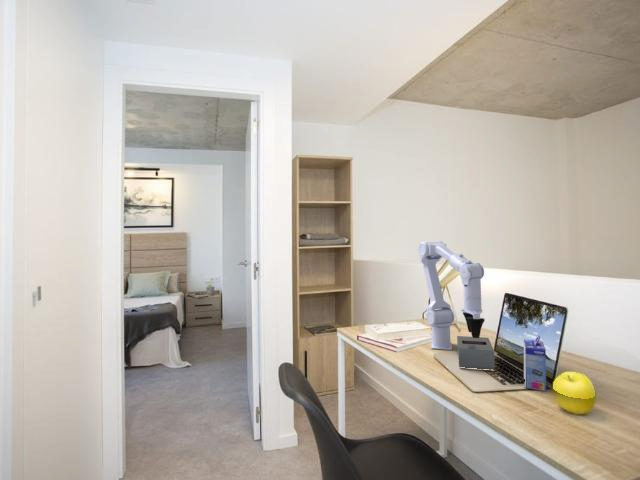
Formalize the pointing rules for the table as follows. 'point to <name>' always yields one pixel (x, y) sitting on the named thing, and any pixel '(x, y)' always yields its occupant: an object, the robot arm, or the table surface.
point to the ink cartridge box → (535, 364)
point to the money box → (475, 352)
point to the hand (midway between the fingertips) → (473, 334)
